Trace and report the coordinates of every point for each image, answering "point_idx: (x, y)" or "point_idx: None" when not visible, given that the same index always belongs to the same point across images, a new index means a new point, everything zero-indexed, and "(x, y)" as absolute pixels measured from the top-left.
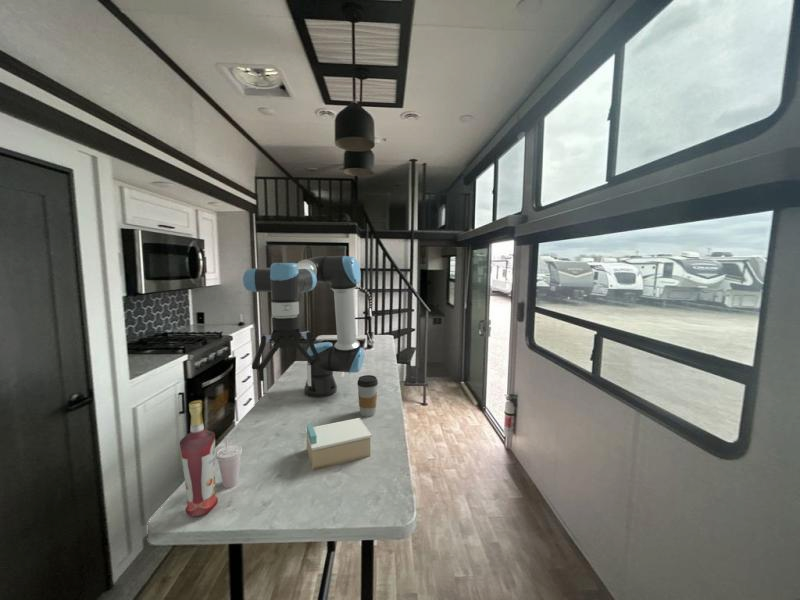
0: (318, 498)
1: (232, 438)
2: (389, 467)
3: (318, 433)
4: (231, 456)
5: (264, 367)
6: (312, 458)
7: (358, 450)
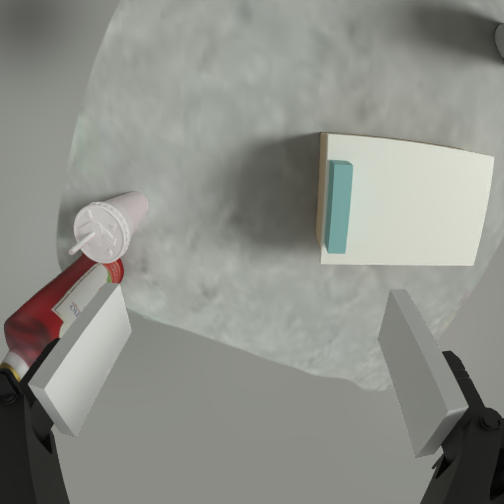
0: (301, 317)
1: (122, 4)
2: (450, 289)
3: (361, 189)
4: (109, 262)
5: (55, 451)
6: (319, 236)
7: None
